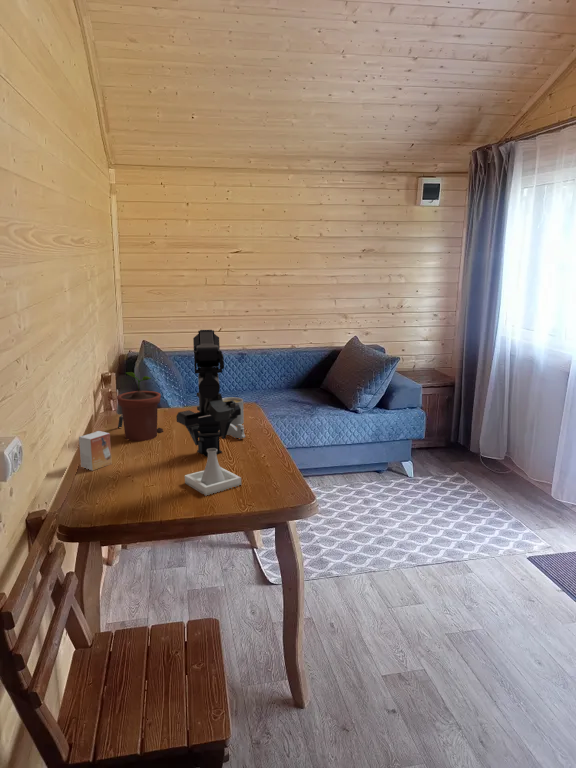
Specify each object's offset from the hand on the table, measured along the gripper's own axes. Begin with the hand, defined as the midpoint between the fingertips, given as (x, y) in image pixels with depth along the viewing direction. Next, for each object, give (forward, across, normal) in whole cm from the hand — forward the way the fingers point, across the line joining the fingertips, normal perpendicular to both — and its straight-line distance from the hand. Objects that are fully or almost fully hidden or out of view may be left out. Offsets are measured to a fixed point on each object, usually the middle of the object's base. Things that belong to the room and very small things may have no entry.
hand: (210, 441), depth 164 cm
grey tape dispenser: (+13, +30, +32) cm, 46 cm away
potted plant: (+14, +4, +59) cm, 60 cm away
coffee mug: (+14, +38, +49) cm, 64 cm away
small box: (+13, -21, +36) cm, 44 cm away
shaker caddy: (+13, 0, -2) cm, 13 cm away
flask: (+12, 0, -2) cm, 12 cm away
